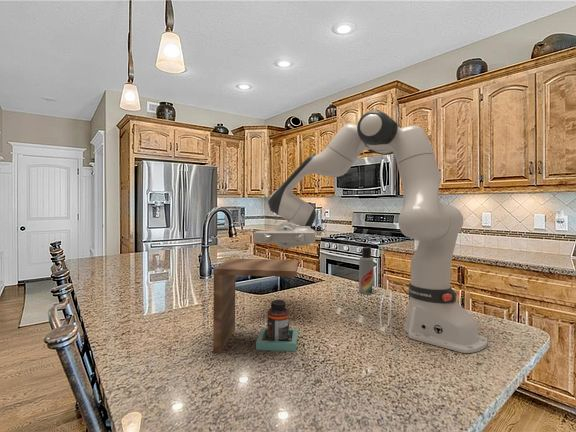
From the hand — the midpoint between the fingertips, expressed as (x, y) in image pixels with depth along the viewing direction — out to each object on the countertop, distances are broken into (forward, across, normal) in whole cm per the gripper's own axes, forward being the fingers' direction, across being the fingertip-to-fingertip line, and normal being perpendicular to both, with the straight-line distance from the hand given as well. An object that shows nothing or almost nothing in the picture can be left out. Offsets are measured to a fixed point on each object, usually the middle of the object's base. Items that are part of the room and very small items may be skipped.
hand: (282, 238), depth 104 cm
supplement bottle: (+11, -1, +28) cm, 30 cm away
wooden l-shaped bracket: (+11, -6, +27) cm, 30 cm away
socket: (+11, -1, +28) cm, 30 cm away
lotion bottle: (-44, +32, +28) cm, 61 cm away
